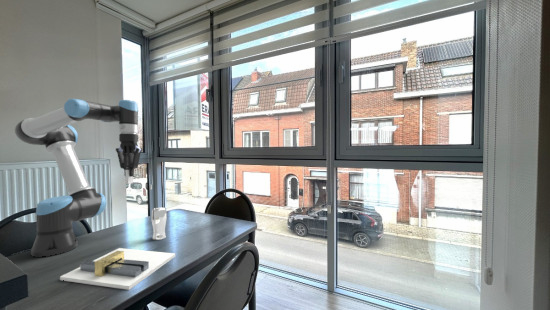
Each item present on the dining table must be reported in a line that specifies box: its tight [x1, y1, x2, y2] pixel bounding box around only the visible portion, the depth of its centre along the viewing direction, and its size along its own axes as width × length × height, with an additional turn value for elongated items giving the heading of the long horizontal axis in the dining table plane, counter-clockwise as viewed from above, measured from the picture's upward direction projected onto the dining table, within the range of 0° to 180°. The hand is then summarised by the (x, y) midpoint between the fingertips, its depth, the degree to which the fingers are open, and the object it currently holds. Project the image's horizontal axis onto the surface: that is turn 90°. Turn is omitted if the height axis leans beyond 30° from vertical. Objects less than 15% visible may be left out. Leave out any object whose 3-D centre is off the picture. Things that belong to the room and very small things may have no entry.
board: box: [59, 247, 176, 291], centre depth 89 cm, size 28×24×1 cm
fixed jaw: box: [79, 260, 141, 277], centre depth 83 cm, size 24×2×2 cm, turn 79°
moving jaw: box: [113, 259, 149, 271], centre depth 85 cm, size 16×2×2 cm, turn 81°
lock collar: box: [95, 251, 124, 276], centre depth 84 cm, size 3×9×5 cm, turn 169°
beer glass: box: [151, 206, 168, 241], centre depth 118 cm, size 7×7×15 cm
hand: (129, 183), depth 109 cm, fingers closed
